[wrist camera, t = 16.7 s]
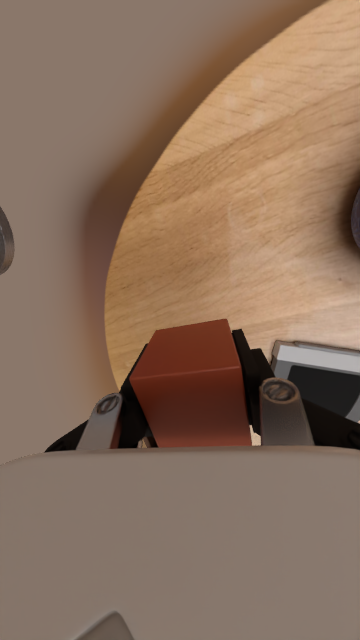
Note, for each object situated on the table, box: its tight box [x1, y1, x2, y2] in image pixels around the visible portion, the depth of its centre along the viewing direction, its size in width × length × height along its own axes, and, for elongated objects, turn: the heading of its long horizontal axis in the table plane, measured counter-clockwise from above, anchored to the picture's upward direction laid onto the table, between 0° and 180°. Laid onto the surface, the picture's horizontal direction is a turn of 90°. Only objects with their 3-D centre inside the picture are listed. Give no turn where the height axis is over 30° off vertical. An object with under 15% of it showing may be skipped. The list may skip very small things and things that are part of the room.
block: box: [129, 319, 252, 448], centre depth 10 cm, size 4×4×4 cm
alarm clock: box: [271, 341, 360, 422], centre depth 32 cm, size 17×5×16 cm
